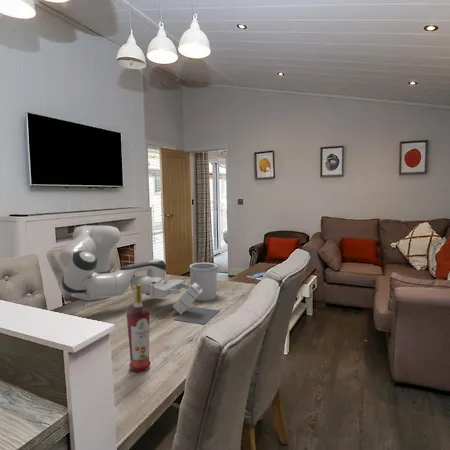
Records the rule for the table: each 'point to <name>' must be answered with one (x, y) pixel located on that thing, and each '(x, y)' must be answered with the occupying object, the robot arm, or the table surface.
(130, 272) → the robot arm
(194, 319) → the mat
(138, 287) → the liquor
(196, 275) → the utensil holder
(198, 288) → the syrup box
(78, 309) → the table surface
